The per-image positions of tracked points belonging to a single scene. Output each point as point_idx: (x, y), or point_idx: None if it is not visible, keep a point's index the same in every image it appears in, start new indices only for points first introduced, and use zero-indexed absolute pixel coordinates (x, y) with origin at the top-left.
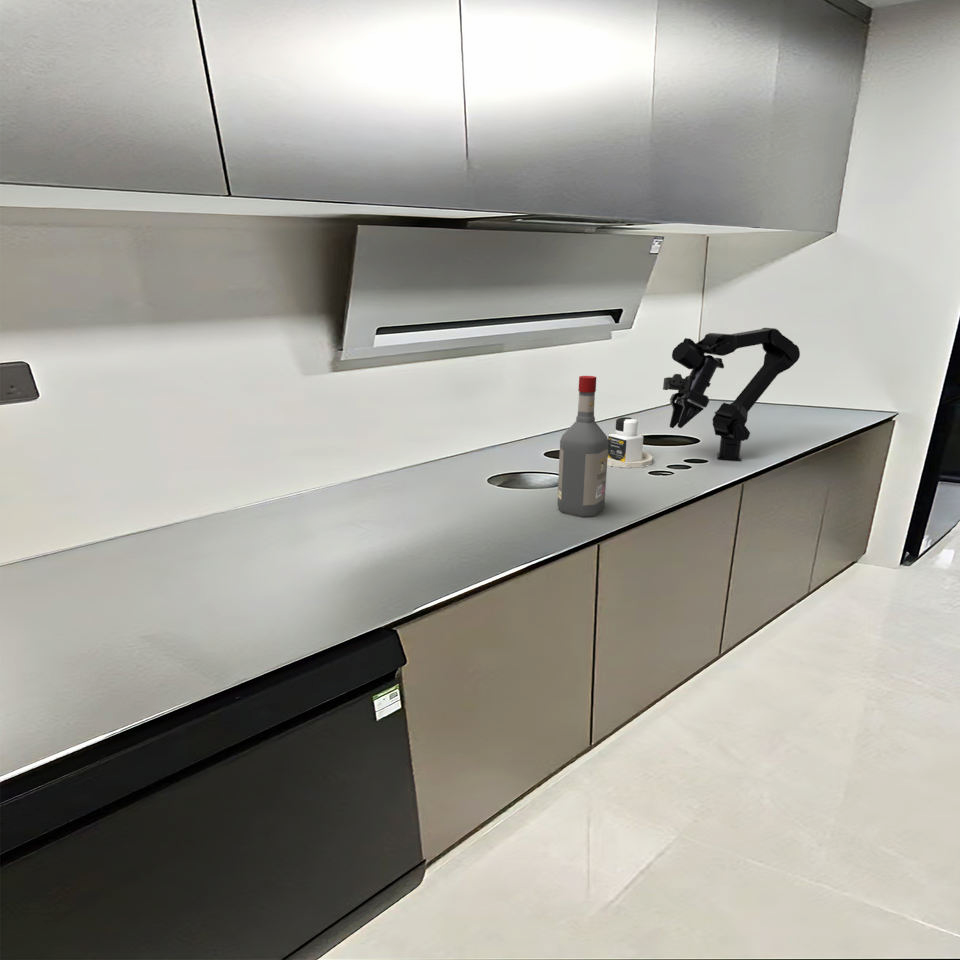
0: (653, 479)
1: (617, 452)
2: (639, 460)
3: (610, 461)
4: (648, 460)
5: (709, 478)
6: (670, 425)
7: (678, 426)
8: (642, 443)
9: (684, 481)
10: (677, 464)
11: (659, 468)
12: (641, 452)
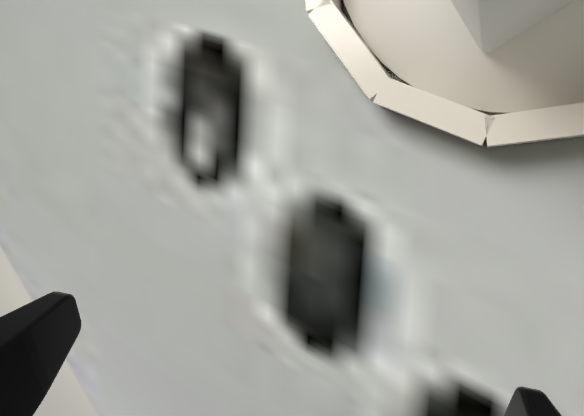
0: (108, 35)
1: None
2: None
3: None
4: (355, 71)
5: (117, 329)
6: (521, 404)
7: (52, 298)
8: (471, 5)
9: (80, 183)
10: (384, 297)
11: (298, 137)
12: (473, 28)
